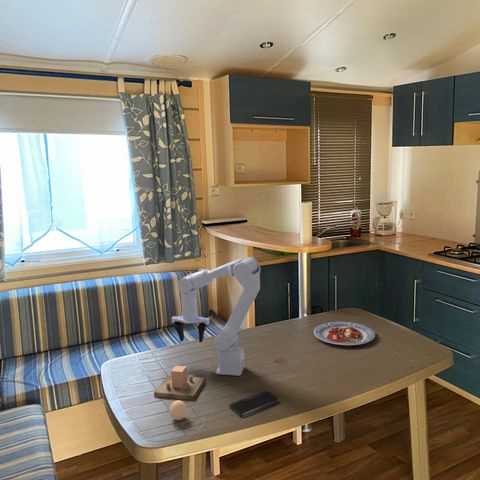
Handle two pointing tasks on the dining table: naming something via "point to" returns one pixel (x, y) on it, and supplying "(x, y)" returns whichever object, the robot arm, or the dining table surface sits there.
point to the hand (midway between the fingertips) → (191, 340)
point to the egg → (178, 410)
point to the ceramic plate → (344, 333)
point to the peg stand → (186, 392)
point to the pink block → (179, 376)
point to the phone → (254, 403)
